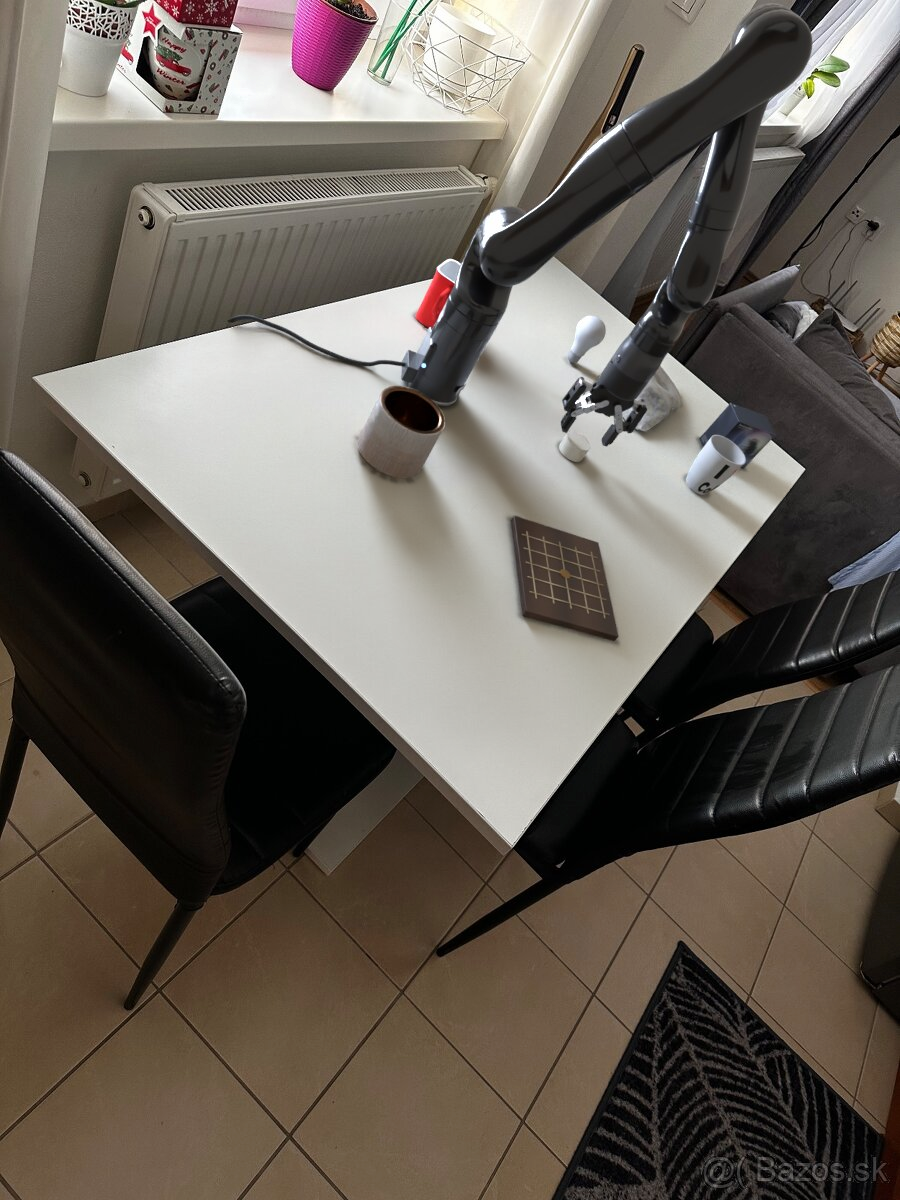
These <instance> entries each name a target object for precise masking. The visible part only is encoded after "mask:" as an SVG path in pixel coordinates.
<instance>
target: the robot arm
mask: <svg viewBox="0 0 900 1200" xmlns="http://www.w3.org/2000/svg"><path fill="white" fill-rule="evenodd" d="M813 41H814V40H813V35H812V32H811V29H810V27H809V25H808V24H807V23H806V21H804V19H803V18H802V17H801V16H799V15H798V14H797V13H796V12H794V11H793V10H791V9H790V8H788V7H787V6H785V5H783V4H780V3H777V2H768V3H763V4H760V5H758V6H756V7H754V8H753V9H750V10H749V11H748V12H747V13H746V14H745V15H743V17H742V18H741V19H740V21H739V22H738V23H737V25H736V27H735V29H734V30H733V33H732V35H731V40H730V44H729V50H728V51H727V52H726V53H724V54H723V56H721V57H720V58H719V59H718V60H717V61H716V62H715V63H713V64H712V65H711V66H709V68H708V69H706V70H705V71H704V72H702V73H701V74H699V76H698V77H696V78H694V79H693V80H692V81H690V82H688V83H687V84H685V85H683V86H682V87H680V88H678V89H675V90H674V91H671V92H669V93H667V94H665V95H663V96H660V97H658V98H657V99H654V100H652V101H651V102H648V103H646V104H644V105H642V106H641V107H638V108H637V109H635V110H634V111H632V112H631V113H629V114H628V115H627V116H625V117H624V118H623V119H621V120H620V121H618V122H617V123H615V125H614V126H612V127H611V128H609V129H608V130H607V131H606V132H605V133H603V134H601V136H599V137H598V138H597V139H596V140H594V142H593V143H592V144H591V145H590V146H589V147H588V148H587V149H586V150H585V151H584V152H583V153H582V155H581V156H580V157H579V158H578V159H577V161H576V162H575V163H574V165H573V166H572V167H571V168H570V169H569V171H568V172H567V174H566V175H565V177H564V178H563V179H562V180H561V182H560V183H559V184H558V186H556V188H555V189H554V190H553V192H552V193H551V194H550V195H548V197H546V198H545V200H543V201H542V202H540V204H538V205H537V206H535V207H534V208H532V209H531V210H530V211H529V212H527V211H525V210H524V209H522V208H520V207H518V206H513V205H504V206H501V207H497V208H495V209H494V210H492V211H490V212H489V213H488V214H487V215H486V216H485V217H484V218H483V220H482V221H481V223H480V224H479V226H478V227H477V229H476V232H475V233H474V236H473V238H472V239H471V241H470V244H469V246H468V248H467V250H466V252H465V255H464V257H463V259H462V261H461V262H460V264H461V266H460V268H459V271H458V274H457V277H456V281H455V284H454V287H453V289H452V291H451V293H450V295H449V297H448V299H447V301H446V303H445V305H444V307H443V309H442V311H441V313H440V315H439V317H438V319H437V321H436V323H435V325H434V327H429V328H427V331H426V333H425V335H424V337H423V339H422V341H421V343H420V345H419V347H418V349H417V351H416V352H415V351H413V350H411V349H407V350H406V352H405V355H404V357H403V359H402V360H401V361H399V360H398V361H397V360H390V359H378V360H374V361H361V360H357V359H352V358H348V357H346V356H344V355H340V354H338V353H336V352H333V351H330V350H328V349H326V348H324V347H321V346H319V345H317V344H315V343H313V342H311V341H309V340H307V339H306V338H304V337H302V336H301V335H299V334H297V333H295V332H294V331H292V330H290V329H288V328H286V327H284V326H282V325H278V324H276V323H274V322H271V321H268V320H266V319H263V318H261V317H258V316H254V315H251V314H241V315H240V314H239V315H235V316H232V317H230V318H228V319H227V320H226V321H227V322H228V323H230V324H231V323H235V322H239V321H253V322H257V323H259V324H261V325H264V326H266V327H270V328H272V329H275V330H277V331H280V332H283V333H284V334H287V335H289V336H290V337H292V338H294V339H296V340H297V341H299V342H301V343H302V344H304V345H306V346H308V347H309V348H311V349H313V350H316V351H317V352H320V353H323V354H325V355H327V356H330V357H332V358H334V359H337V360H339V361H342V362H345V363H348V364H351V365H355V366H360V367H361V366H362V367H375V366H379V365H390V366H398V367H401V381H404V382H407V387H409V388H412V389H415V390H417V391H419V392H421V393H423V394H424V395H426V396H427V397H429V398H430V399H431V400H433V401H434V402H435V403H436V404H437V405H438V407H450V406H452V405H454V404H455V403H456V401H457V400H458V398H459V396H460V393H461V391H463V390H464V389H465V387H466V385H467V383H466V382H467V380H468V379H469V377H470V375H471V373H472V372H473V370H474V368H475V367H476V365H477V364H478V361H479V359H480V357H481V356H482V355H483V353H484V350H485V349H486V347H487V345H488V343H489V342H490V340H491V338H492V336H493V335H494V332H495V331H496V329H497V328H498V326H499V324H500V322H501V320H502V319H503V317H504V315H505V313H506V311H507V309H508V305H509V300H510V297H511V293H512V289H513V287H515V286H517V285H520V284H522V283H524V282H525V281H528V280H529V279H530V278H531V277H532V276H534V275H535V274H536V273H537V272H538V271H539V270H540V269H542V268H543V267H544V266H545V265H546V264H547V263H549V262H550V260H552V259H553V258H554V257H556V255H557V254H558V253H560V251H562V250H563V249H564V248H565V247H566V246H567V245H568V244H570V243H571V242H572V241H573V240H574V239H576V238H577V237H578V236H579V235H581V234H582V233H583V232H585V231H586V230H588V229H589V228H591V227H592V226H594V225H595V224H596V223H598V222H599V221H600V220H602V219H603V218H605V216H607V215H609V214H610V213H611V212H612V211H614V210H615V209H617V208H618V207H620V206H621V205H622V204H624V203H626V201H628V200H630V199H632V198H633V197H634V196H635V195H637V194H638V193H640V192H641V191H643V190H644V189H645V188H646V187H647V186H650V184H652V183H653V182H654V181H655V180H657V179H659V178H660V177H661V176H662V175H663V174H665V173H666V172H667V171H668V170H670V169H671V168H672V167H673V166H675V165H677V164H678V163H679V162H681V161H682V160H683V159H684V158H686V157H687V156H688V155H689V154H691V153H692V152H693V151H695V150H696V149H697V148H698V147H700V146H701V145H702V144H703V143H705V142H706V141H707V140H708V139H710V138H711V140H710V144H709V148H708V152H707V154H706V158H705V162H704V165H703V167H702V170H701V174H700V176H699V180H698V182H697V183H698V184H697V187H696V190H695V194H694V196H693V199H692V202H691V204H690V205H691V206H690V209H689V212H688V216H687V219H686V223H685V228H684V233H683V238H682V242H681V245H680V247H679V250H678V252H677V255H676V258H675V262H674V263H673V265H672V266H671V268H670V270H669V271H668V273H667V275H666V276H665V278H664V280H663V281H662V284H660V286H659V288H658V291H657V292H656V294H655V296H654V297H653V300H652V301H651V303H650V304H649V306H648V307H647V309H646V310H645V311H644V312H643V314H642V315H641V316H640V318H639V319H638V321H637V322H636V324H635V325H634V327H633V328H632V330H631V331H630V333H629V334H628V335H627V336H626V337H625V339H623V340H622V342H621V344H620V345H619V346H618V348H617V349H616V351H615V352H614V353H613V354H612V357H610V359H609V361H608V362H607V364H606V365H605V367H604V368H603V370H602V371H601V373H600V375H599V377H598V379H597V380H596V381H595V382H593V383H590V382H588V381H586V380H585V377H584V376H579V377H577V379H575V382H573V384H572V386H571V387H570V389H569V390H567V392H566V394H565V395H564V396H563V398H562V399H561V401H562V402H561V403H562V405H563V410H564V411H565V414H564V415H563V417H562V419H561V420H560V427H561V431H562V433H564V434H567V433H568V432H569V430H570V429H571V428H572V426H573V424H574V423H575V422H576V420H577V417H579V416H581V415H583V414H586V415H587V414H589V413H591V412H594V413H596V414H602V415H604V416H605V417H607V418H611V417H613V424H610V426H609V427H608V429H607V430H606V432H605V433H604V434H603V436H602V437H601V444H602V446H603V447H608V446H610V445H612V444H613V443H614V442H615V440H616V439H617V438H618V436H619V435H620V434H621V433H623V432H626V433H627V434H633V433H634V431H635V430H636V429H635V428H636V426H637V425H638V423H639V422H640V420H641V419H642V417H643V416H644V414H645V413H646V411H647V407H646V404H645V401H644V400H643V399H640V400H639V401H637V400H635V399H636V398H637V397H638V396H639V395H640V393H641V392H642V390H643V389H644V388H645V386H646V385H647V384H648V382H649V381H650V379H651V378H652V377H653V376H654V374H655V373H656V371H657V370H658V368H659V367H660V366H661V365H662V363H663V361H664V359H665V358H666V356H667V355H668V353H670V351H671V349H672V348H673V347H674V345H675V344H676V342H677V341H678V339H679V338H680V336H681V334H682V332H683V330H684V328H685V324H686V323H687V321H688V319H689V317H690V316H691V315H692V313H694V312H697V311H699V310H700V309H702V308H703V307H705V306H706V305H707V304H708V303H709V302H710V300H711V298H712V296H713V294H714V292H715V288H716V284H717V281H718V278H719V274H720V271H721V267H722V264H723V260H724V257H725V252H726V249H727V246H728V244H729V242H730V239H731V237H732V235H733V232H734V231H735V227H736V224H737V222H738V218H739V216H740V214H741V213H740V212H741V211H742V207H743V204H744V201H745V198H746V194H747V190H748V187H749V183H750V178H751V173H752V167H753V162H754V161H753V160H754V156H755V152H756V151H755V150H756V145H757V141H758V136H759V133H760V129H761V125H762V122H763V119H764V116H765V113H766V110H767V107H768V105H769V102H770V100H771V99H772V98H774V97H776V96H777V95H779V94H780V93H782V92H783V91H785V90H786V89H788V88H789V87H790V86H792V85H793V84H794V83H795V82H796V81H797V80H798V79H799V77H800V76H801V75H802V74H803V72H804V71H805V69H806V67H807V65H808V64H809V61H810V58H811V55H812V51H813ZM587 392H589V393H587ZM586 393H587V394H586ZM589 402H590V404H588V403H589ZM631 407H632V411H631V413H630V414H629V416H628V417H627V419H626V420H623V419H624V418H623V417H622V412H623V411H626V410H628V409H630V408H631Z"/></svg>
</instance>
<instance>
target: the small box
mask: <svg viewBox="0 0 900 1200" xmlns="http://www.w3.org/2000/svg"><path fill="white" fill-rule="evenodd" d="M713 435H720V436H723V437H725V438H727V439H729V440H731V441H732V442H733V443H735V444H736V445H737V446H738V447H739V448H740V449H741V451H742V452H743V454H744V455H745V458H746V462H745V463H744V464H743V465H742V466H741V467H740V468H739V469H743V470H744V469H745V468H746V467H747V466H748V465H749V464H750V463H751V461H753V460H754V458H756V456H757V455H758V454H759V453H760V452H761V451H762V450H763V449H764V448H765V447H766V446H767V445H768V444H769V443H770V442H771V441H772V440H773V438H775V437H776V436H777V434H776V431H775V429H774V427H773V426H772V423H771V422H770V420H769V417H768V416H767V415H765V414H762V413H760V412H758V411H754V410H751V409H749V408H746V407H744V406H740V405H738V404H736V403H732V402H730V403H728V405H727V406H726V407H725V409H724V410H723V411H722V412H721V413H720V414H719V415H718V416H717V418H716V419H715V420H714V421H713V422H712V423H711V424H710V426H709V427H708V428H707V429H706V430H705V431H704V432H703V433H702V434H701V435H700V437H699V438H698V439H699V441H700V443H701V445H702V448H703V447H704V446H705V445H706V443H707V442H708V441H709V439H710V438H711V437H712V436H713Z"/></svg>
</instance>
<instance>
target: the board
mask: <svg viewBox="0 0 900 1200" xmlns="http://www.w3.org/2000/svg"><path fill="white" fill-rule="evenodd" d="M510 527H511V534H512V542H513V551H514V558H515V567H516V575H517V582H518V590H519V599H520V606H521V614H522V616H523V617H526V618H528V619H529V618H530V619H533V620H537V621H539V622H540V621H541V622H544V623H547V624H552V625H555V626H558V627H562V628H565V629H568V630H569V629H570V630H572V631H577V632H580V633H584V634H587V635H591V636H595V637H597V638H602V639H606V640H609V641H612V642H615V641H616V640H617V639H619V633H618V632H619V631H618V627H617V623H616V617H615V613H614V609H613V603H612V599H611V594H610V590H609V585H608V580H607V575H606V571H605V566H604V561H603V558H602V552H601V548H600V543H599V542H598V541H595V540H592V539H589V538H586V537H583V536H579V535H577V534H573V533H570V532H567V531H564V530H561V529H557V528H555V527H552V526H549V525H546V524H542V523H539V522H536V521H534V520H530V519H527V518H524V517H521V516H517V515H513V516H512V517H511V519H510Z"/></svg>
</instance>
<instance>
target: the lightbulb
mask: <svg viewBox="0 0 900 1200" xmlns="http://www.w3.org/2000/svg"><path fill="white" fill-rule="evenodd" d="M606 331H607V329H606V325H605V322H604V321H603V320H602V319H601V318H600V317H599V316H596V315H587V316H584V317H583V318H581V319H580V320H579V322H578V323H577V325H576V327H575V333H574V335H575V336H574V340H573V344H572V345H571V348H570V350H569V353H568V354H567V355H566V356H567V360H568V362H569V363H570V364H578V362H579V361H580V360H581V359H582V357H584V356H585V355H586V353H587V352H588V351H590V350H591V349H592V348H594V347H596V346H598V345H600V344H601V343H602V342H603V341H604V339H605V337H606V334H607V333H606Z"/></svg>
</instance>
